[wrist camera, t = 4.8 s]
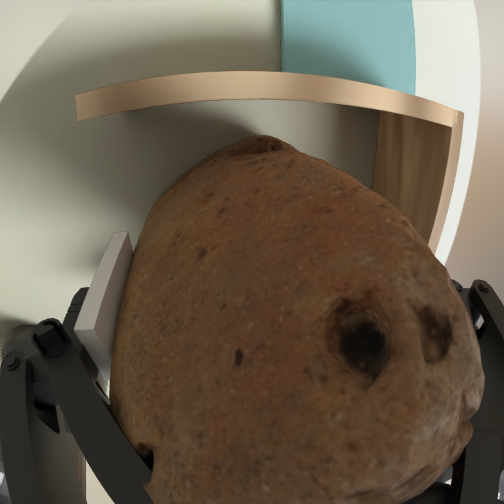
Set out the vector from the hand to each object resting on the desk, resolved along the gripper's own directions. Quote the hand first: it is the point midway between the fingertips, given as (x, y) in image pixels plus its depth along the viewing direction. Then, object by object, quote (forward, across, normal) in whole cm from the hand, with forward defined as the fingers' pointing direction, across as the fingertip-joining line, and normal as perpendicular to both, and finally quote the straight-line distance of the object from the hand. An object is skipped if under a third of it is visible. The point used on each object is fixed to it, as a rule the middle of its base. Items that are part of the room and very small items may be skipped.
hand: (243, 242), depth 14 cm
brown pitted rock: (+7, 0, 0) cm, 7 cm away
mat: (+7, +10, +15) cm, 19 cm away
